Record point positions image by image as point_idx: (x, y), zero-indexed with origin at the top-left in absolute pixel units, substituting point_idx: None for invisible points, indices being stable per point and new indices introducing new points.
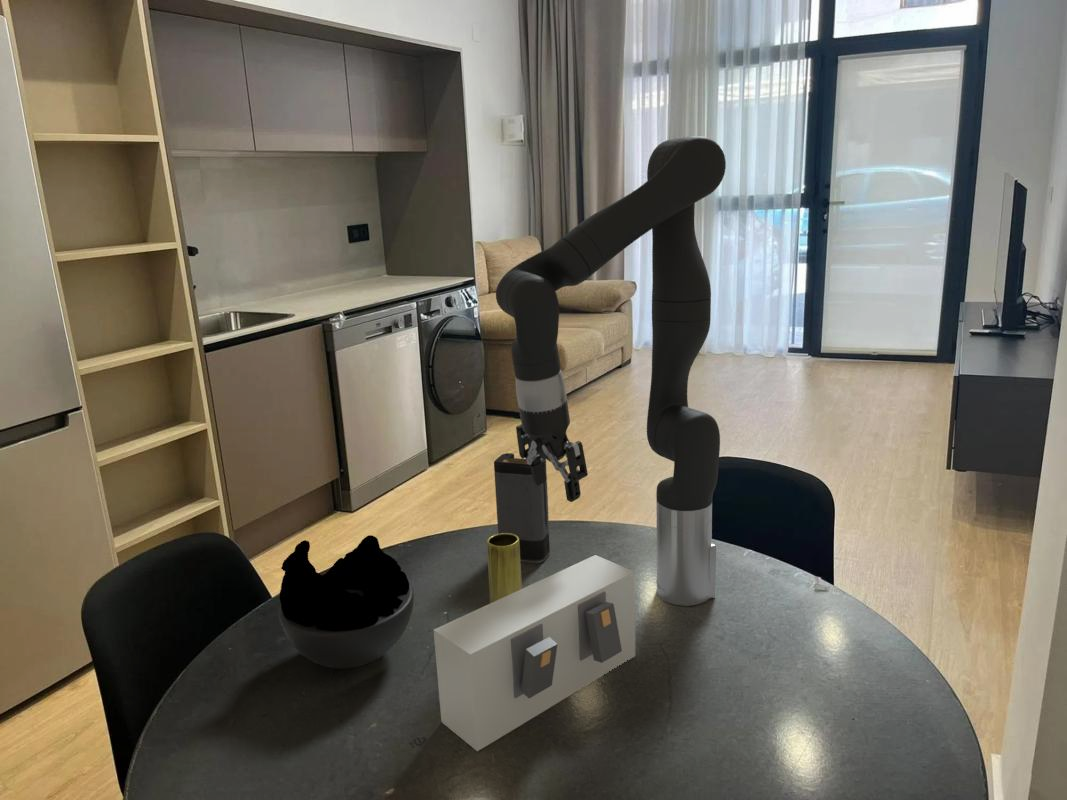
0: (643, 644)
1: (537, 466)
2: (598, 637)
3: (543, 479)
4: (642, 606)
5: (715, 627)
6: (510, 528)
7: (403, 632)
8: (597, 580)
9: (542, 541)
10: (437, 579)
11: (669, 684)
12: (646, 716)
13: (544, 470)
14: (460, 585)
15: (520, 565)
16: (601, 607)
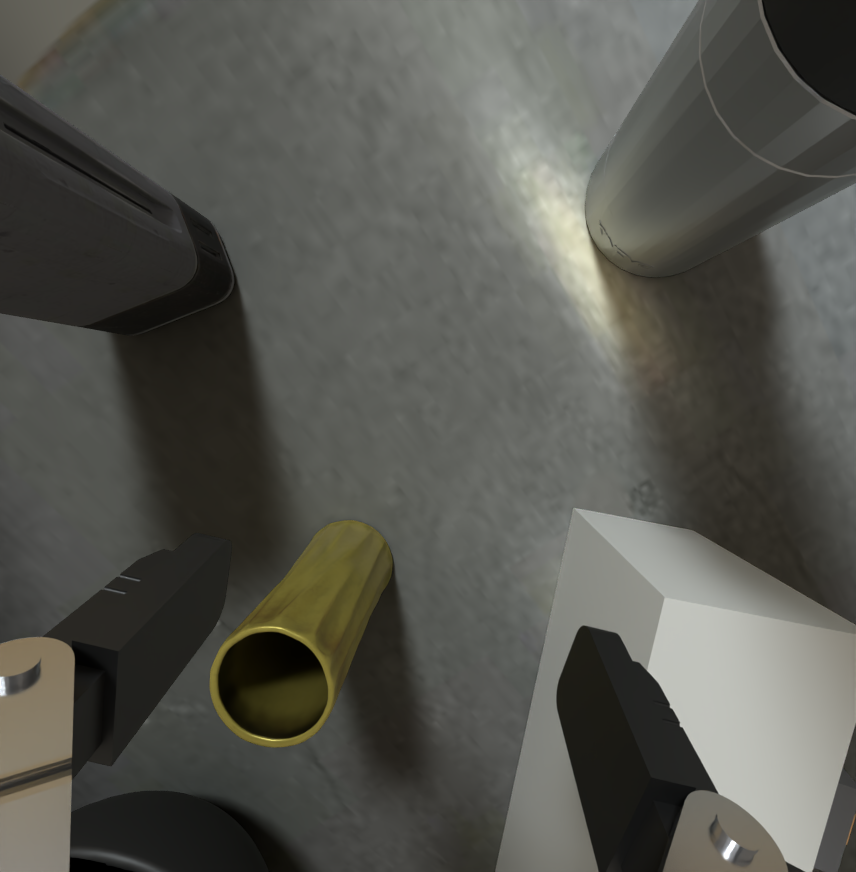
0: (685, 479)
1: (127, 705)
2: None
3: (217, 567)
4: (596, 329)
5: (805, 313)
6: (84, 309)
7: (262, 862)
8: (786, 765)
9: (201, 264)
10: (79, 514)
11: (808, 579)
12: None
13: (182, 592)
14: (147, 505)
15: (341, 589)
16: (832, 821)
